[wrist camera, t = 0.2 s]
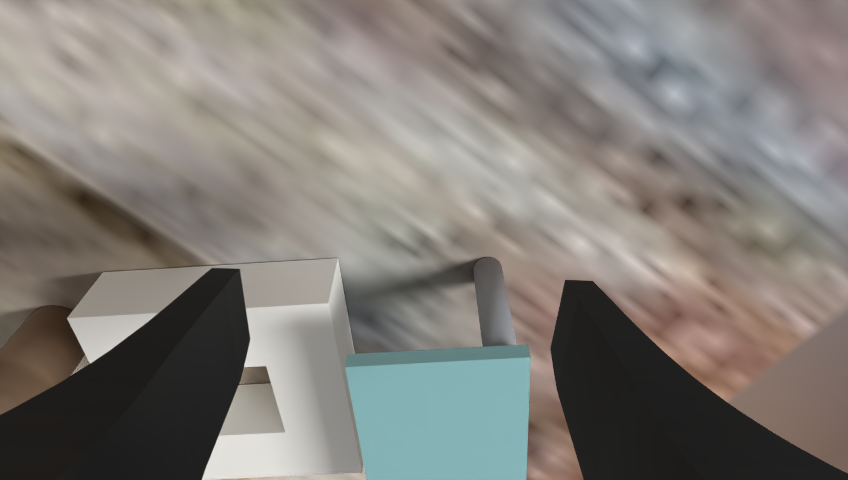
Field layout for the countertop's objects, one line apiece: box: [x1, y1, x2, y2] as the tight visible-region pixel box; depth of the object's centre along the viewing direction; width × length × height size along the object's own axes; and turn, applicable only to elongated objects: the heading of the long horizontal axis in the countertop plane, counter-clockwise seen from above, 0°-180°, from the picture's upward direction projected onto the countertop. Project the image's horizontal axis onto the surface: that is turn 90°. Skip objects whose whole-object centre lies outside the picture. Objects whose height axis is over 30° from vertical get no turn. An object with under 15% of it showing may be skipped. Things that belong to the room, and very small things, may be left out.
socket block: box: [67, 258, 363, 480], centre depth 26 cm, size 10×10×3 cm
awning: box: [345, 257, 531, 480], centre depth 25 cm, size 11×6×6 cm, turn 4°
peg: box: [0, 306, 85, 415], centre depth 24 cm, size 3×3×7 cm
